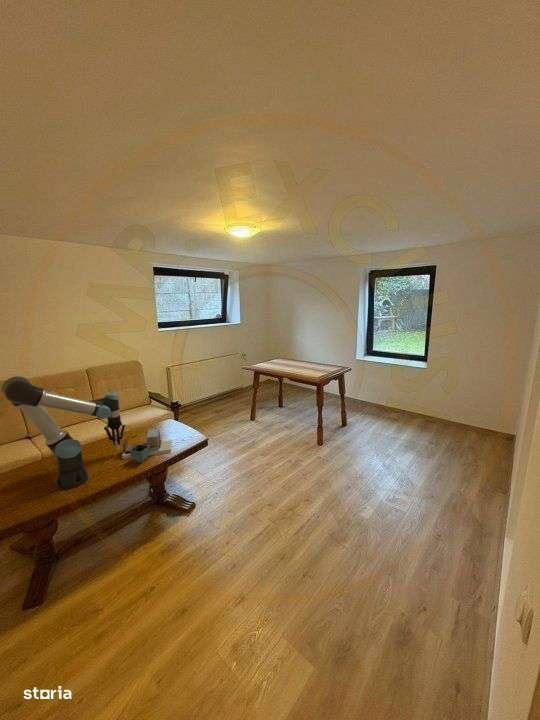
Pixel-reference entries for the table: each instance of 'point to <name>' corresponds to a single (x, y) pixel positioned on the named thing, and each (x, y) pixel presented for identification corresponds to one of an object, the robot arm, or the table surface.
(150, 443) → the terracotta block
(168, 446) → the board
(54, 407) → the robot arm
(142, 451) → the flower pot
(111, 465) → the table surface
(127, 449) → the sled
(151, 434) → the tunnel
